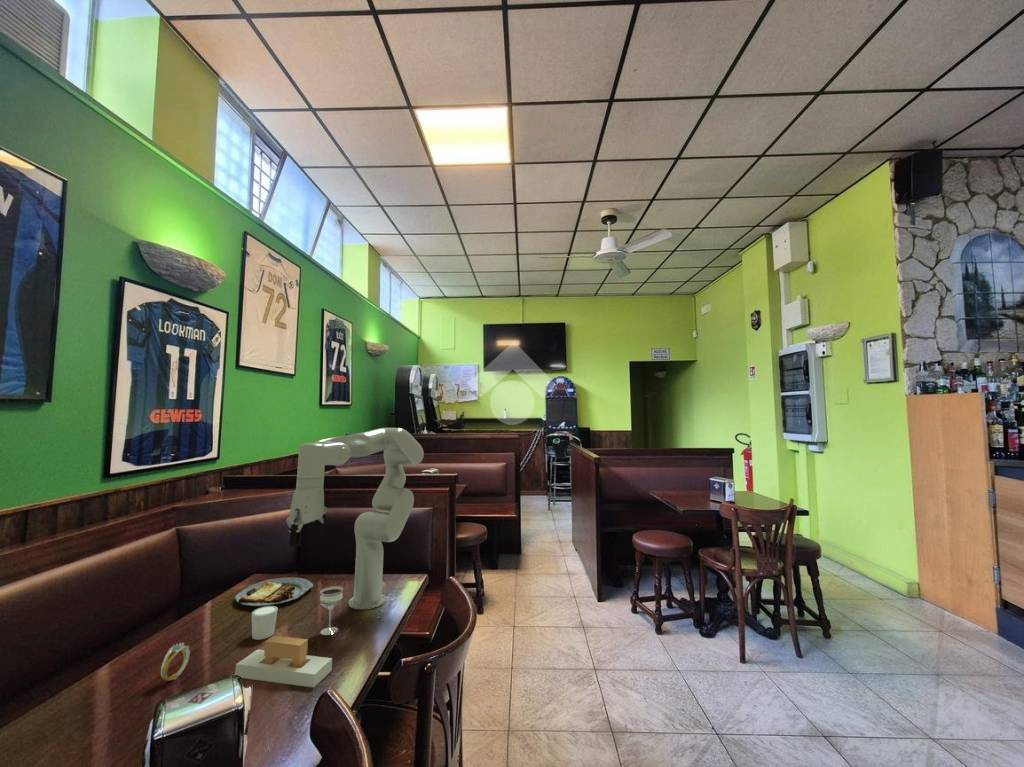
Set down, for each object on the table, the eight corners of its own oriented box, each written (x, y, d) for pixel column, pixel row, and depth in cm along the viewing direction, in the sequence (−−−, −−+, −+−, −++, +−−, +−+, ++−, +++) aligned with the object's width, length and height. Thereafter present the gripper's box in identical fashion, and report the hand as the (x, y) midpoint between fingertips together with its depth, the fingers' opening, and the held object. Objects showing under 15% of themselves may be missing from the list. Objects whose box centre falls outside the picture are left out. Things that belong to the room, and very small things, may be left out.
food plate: (285, 612, 137) (286, 601, 138) (218, 610, 138) (219, 600, 138) (321, 584, 162) (322, 575, 162) (265, 583, 163) (265, 573, 163)
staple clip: (271, 668, 105) (273, 635, 106) (305, 672, 104) (308, 639, 105) (262, 674, 102) (265, 641, 103) (297, 679, 101) (300, 645, 102)
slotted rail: (256, 661, 108) (257, 649, 109) (331, 670, 105) (332, 658, 105) (234, 677, 101) (236, 664, 102) (314, 687, 98) (314, 674, 98)
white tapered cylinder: (263, 642, 118) (265, 616, 119) (243, 639, 119) (245, 614, 120) (281, 630, 125) (283, 606, 125) (262, 628, 126) (264, 604, 127)
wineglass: (325, 638, 120) (328, 596, 122) (312, 632, 124) (315, 591, 125) (345, 629, 126) (348, 589, 127) (332, 623, 129) (335, 584, 131)
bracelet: (181, 670, 104) (185, 637, 105) (192, 671, 103) (195, 638, 104) (154, 687, 97) (158, 651, 98) (165, 688, 97) (169, 652, 97)
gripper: (317, 479, 133) (313, 533, 131) (278, 487, 116) (273, 548, 114) (337, 480, 132) (334, 534, 130) (302, 488, 115) (297, 550, 113)
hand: (306, 541), depth 122 cm, fingers open, 9 cm apart
